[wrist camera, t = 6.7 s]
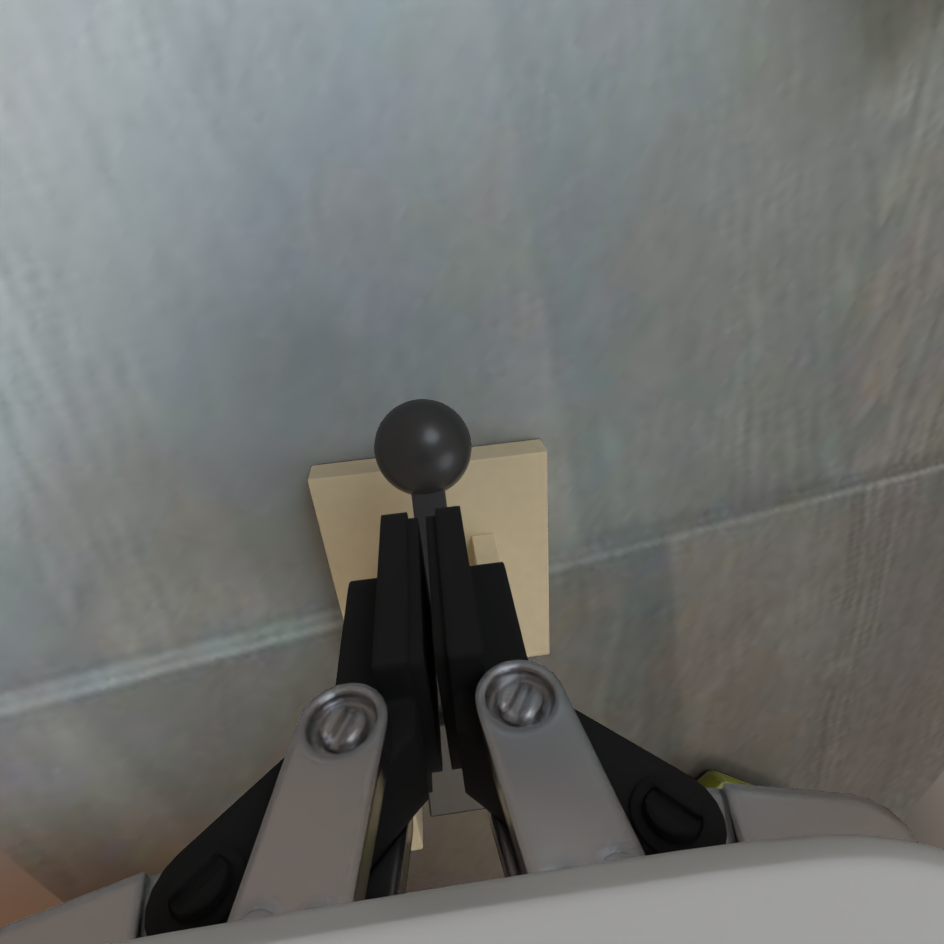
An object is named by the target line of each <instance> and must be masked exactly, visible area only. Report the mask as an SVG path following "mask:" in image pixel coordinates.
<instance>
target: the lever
mask: <svg viewBox="0 0 944 944" xmlns="http://www.w3.org/2000/svg"><path fill="white" fill-rule="evenodd" d="M471 450H472V447H471V438H470V434H469V431H468V429H467V427H466V424H465V423H464V421H463V420H462V418H461V417H460V416H459V415H458V414H457V413H456V412H455V411H454V410H453V409H451V408H450V407H448V406H447V405H445V404H443V403H440V402H438V401H434V400H428V399H417V400H411V401H408V402H405V403H403V404H401V405H399V406H397V407H396V408H394V409H393V410H392V411H390V412H389V413H388V414H387V415H386V417H385V418H384V419H383V421H382V422H381V424H380V426H379V428H378V430H377V433H376V437H375V443H374V453H375V458H376V462H377V465H378V467H379V469H380V471H381V473H382V474H383V476H384V477H385V478H386V480H387V481H388V482H389V483H390V484H392V485H393V486H394V487H395V488H397V489H398V490H400V491H402V492H404V493H407V494H410V495H411V496H412V505H413V513H414V518H417V517H418V522H419V528H420V535H421V541H422V548H423V554H424V561H425V568H426V574H427V581H428V587H429V594H430V582H429V566H428V549H427V533H426V516H434V515H435V508H444V507H447V502H446V493H445V491H446V490H448V489H449V488H451V487H452V486H454V485H455V484H456V483H457V482H458V481H459V480H460V479H461V477H462V476H463V475H464V473H465V471H466V469H467V467H468V465H469V462H470V458H471ZM430 600H431V599H430ZM437 685H438V679H437ZM438 701H439V717H440V732H441V748H442V764H443V771H442V772H435V773H432V784H433V792H431V793H429V799H428V802H429V811H430V816H431V817H434V816H441V815H447V814H454V813H460V812H467V811H473V810H480V809H486V808H484V807H483V806H482V805H480V804H479V803H478V802H477V801H475V800H474V799H473V798H471V797H470V796H469V795H468V794H466V793H465V786H464V779H463V772H462V769H455V770H452V767H451V761H450V755H449V748H448V742H447V736H446V730H445V723H444V717H443V711H442V704H441V698H440V692H439V685H438Z"/></svg>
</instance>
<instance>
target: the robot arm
mask: <svg viewBox="0 0 944 944" xmlns="http://www.w3.org/2000/svg"><path fill="white" fill-rule="evenodd" d="M426 533H427V549H428V566H429V582H430V594H429V587H428V581H427V574H426V568H425V561H424V554H423V548H422V541H421V535H420V528H419V522H418V517H417V518H409V519H408V514H407V512H403V513H395V514H386V515H381V521H380V537H379V554H378V570H377V578H372V579H364V580H356V581H350V583H349V586H348V592H347V600H346V608H345V616H344V624H343V631H342V639H341V647H340V655H339V663H338V671H337V679H336V686H334V687H331V688H329V689H326V690H324V691H323V692H322V693H320V694H319V695H317V696H316V697H314V698H313V699H312V700H311V701H310V703H309V704H308V705H307V706H306V707H305V708H304V709H303V711H302V713H301V715H300V717H299V719H298V721H297V724H296V726H295V729H294V732H293V735H292V738H291V741H290V744H289V746H288V749H287V752H286V755H285V757H284V758H283V759H282V760H281V761H280V762H279V763H278V764H277V765H276V766H275V767H273V768H272V769H271V770H270V771H269V772H268V773H267V774H266V775H265V776H264V777H262V778H261V779H260V780H259V781H258V782H257V783H256V784H255V785H254V786H253V787H252V788H250V789H249V790H248V791H247V792H246V793H245V794H244V795H243V796H242V797H241V798H239V799H238V800H237V801H236V802H235V803H234V804H233V805H232V806H231V807H230V808H228V809H227V810H226V811H225V812H224V813H223V814H222V815H221V816H220V817H219V818H217V819H216V820H215V821H214V822H213V823H212V824H211V825H210V826H209V827H208V828H207V829H205V830H204V831H203V832H202V833H201V834H200V835H199V836H198V837H197V838H196V839H194V840H193V841H192V842H191V843H190V844H189V845H188V846H187V847H186V848H185V849H183V850H182V851H181V852H180V853H179V854H178V855H177V856H176V857H175V858H174V859H173V860H172V862H171V863H170V864H169V865H168V866H167V867H166V868H165V869H164V870H163V872H162V873H159V874H157V875H154V876H151V877H148V876H147V874H146V873H145V872H143V873H140V874H137V875H135V876H132V877H130V878H127V879H125V880H122V881H119V882H117V883H114V884H112V885H109V886H106V887H104V888H101V889H99V890H96V891H94V892H91V893H88V894H86V895H83V896H81V897H78V898H76V899H73V900H70V901H68V902H65V903H63V904H60V905H58V906H55V907H52V908H50V909H47V910H45V911H42V912H39V913H37V914H34V915H32V916H29V917H27V918H24V919H21V920H19V921H16V922H14V923H11V924H9V925H6V926H3V927H1V928H0V944H944V849H940V848H937V847H933V846H930V845H926V844H922V843H919V842H918V841H917V839H916V838H915V837H914V835H913V834H912V832H911V831H910V829H909V828H908V827H907V825H906V824H905V823H904V822H903V821H902V820H901V819H899V818H898V817H897V816H896V815H895V814H894V813H893V812H892V811H890V810H889V809H888V808H886V807H884V806H882V805H881V804H879V803H877V802H875V801H873V800H871V799H870V798H866V797H862V796H858V795H854V794H850V793H839V792H827V791H816V790H804V789H793V788H781V787H770V786H758V785H747V784H735V783H723V787H722V789H718V788H707V787H704V786H703V785H701V784H700V783H699V782H697V781H696V780H695V779H693V778H692V777H691V776H689V775H687V774H686V773H684V772H682V771H680V770H679V769H677V768H675V767H673V766H672V765H670V764H668V763H667V762H665V761H663V760H661V759H660V758H658V757H656V756H655V755H653V754H651V753H649V752H648V751H646V750H644V749H642V748H641V747H639V746H637V745H636V744H634V743H632V742H630V741H629V740H627V739H625V738H624V737H622V736H620V735H618V734H617V733H615V732H613V731H612V730H610V729H608V728H606V727H605V726H603V725H601V724H599V723H598V722H596V721H594V720H593V719H591V718H589V717H587V716H586V715H584V714H582V713H581V712H579V711H577V710H575V709H574V708H573V706H572V704H571V702H570V700H569V698H568V695H567V693H566V691H565V689H564V687H563V685H562V683H561V682H560V681H559V679H558V678H557V676H556V675H555V674H554V673H553V672H552V671H550V670H549V669H548V668H546V667H545V666H543V665H541V664H538V663H536V662H533V661H528V658H527V654H526V650H525V646H524V642H523V638H522V634H521V630H520V626H519V621H518V617H517V613H516V609H515V605H514V601H513V597H512V593H511V589H510V585H509V581H508V577H507V572H506V568H505V565H504V563H503V562H496V563H488V564H481V565H473V566H469V559H468V553H467V547H466V541H465V534H464V528H463V522H462V516H461V509H460V506H452V507H444V508H435V515H434V516H426ZM430 599H431V600H430ZM437 679H438V685H439V692H440V698H441V704H442V711H443V717H444V723H445V730H446V736H447V742H448V748H449V755H450V761H451V767H452V770H455V769H462V772H463V779H464V786H465V793H466V794H468V795H469V796H470V797H471V798H473V799H474V800H475V801H477V802H478V803H479V804H480V805H482V806H483V807H484V808H486V809H487V810H488V818H489V822H490V825H491V829H492V833H493V836H494V840H495V843H496V847H497V851H498V854H499V858H500V862H501V865H502V869H503V872H504V876H505V878H499V879H493V880H487V881H480V882H474V883H468V884H462V885H455V886H449V887H443V888H436V889H430V890H424V891H418V892H412V893H406V886H407V878H408V870H409V862H410V854H411V846H412V838H413V817H414V816H415V814H416V813H417V812H418V811H419V810H420V808H421V807H422V806H423V805H424V803H425V802H426V801H427V800H428V799H429V793H431V792H433V784H432V773H435V772H442V771H443V764H442V748H441V732H440V717H439V701H438V685H437Z"/></svg>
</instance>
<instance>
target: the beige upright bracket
mask: <svg viewBox="0 0 944 944" xmlns="http://www.w3.org/2000/svg"><path fill="white" fill-rule="evenodd" d="M307 481H308V485H309V489H310V493H311V497H312V501H313V504H314V508H315V512H316V516H317V520H318V524H319V528H320V532H321V535H322V539H323V543H324V547H325V551H326V555H327V559H328V563H329V566H330V570H331V574H332V578H333V582H334V586H335V590H336V594H337V598H338V601H339V605H340V609H341V613H342V617H343V621H344V616H345V608H346V600H347V592H348V586H349V583H350V581H356V580H364V579H372V578H377V570H378V554H379V537H380V521H381V515H386V514H395V513H403V512H407V514H408V519H409V518H414V513H413V505H412V496H411V495H410V494H407V493H404V492H402V491H400V490H398V489H397V488H395V487H394V486H393V485H392V484H390V483H389V482H388V481H387V480H386V478H385V477H384V476H383V474H382V473H381V471H380V469H379V467H378V465H377V462H376V458H373V459H365V460H356V461H348V462H339V463H330V464H322V465H313V466H312V467H311V470H310V473H309V477H308V480H307ZM445 493H446V502H447V507H452V506H460V509H461V516H462V522H463V528H464V534H465V541H466V547H467V553H468V559H469V566H473V565H481V564H488V563H496V562H503V563H504V565H505V568H506V572H507V577H508V581H509V585H510V589H511V593H512V597H513V601H514V605H515V609H516V613H517V617H518V621H519V626H520V630H521V634H522V638H523V642H524V646H525V650H526V654H527V657H531V656H538V655H546V654H549V578H548V494H547V451H546V449H545V447H544V445H543V443H542V441H541V439H536V440H527V441H519V442H510V443H502V444H493V445H485V446H476V447H472V450H471V458H470V462H469V465H468V467H467V469H466V471H465V473H464V475H463V476H462V477H461V479H460V480H459V481H458V482H457V483H456V484H455V485H454V486H452V487H451V488H449V489H448V490H446V491H445ZM422 848H423V825H422V807H421V808H420V810H419V811H418V812H417V813H416V814H415V816H414V817H413V838H412V846H411V851H412V850H419V849H422Z"/></svg>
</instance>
